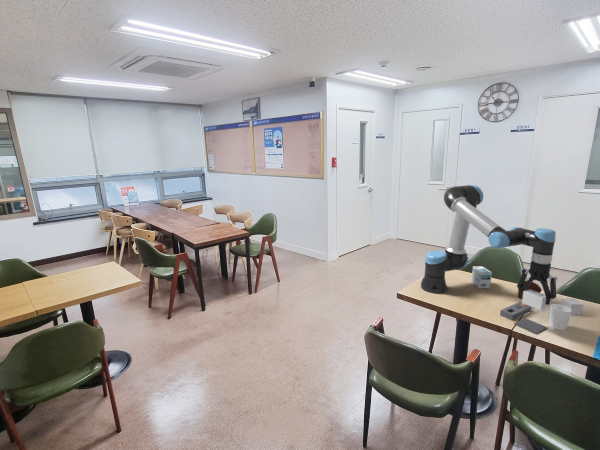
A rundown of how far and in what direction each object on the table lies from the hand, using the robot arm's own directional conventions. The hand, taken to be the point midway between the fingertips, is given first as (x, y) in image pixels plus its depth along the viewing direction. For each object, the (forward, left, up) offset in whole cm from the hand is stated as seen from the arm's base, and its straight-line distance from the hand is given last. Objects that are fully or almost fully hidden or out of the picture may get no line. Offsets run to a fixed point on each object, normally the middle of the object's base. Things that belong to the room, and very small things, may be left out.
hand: (533, 306), depth 153 cm
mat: (0, 0, -11) cm, 11 cm away
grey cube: (+3, +33, -11) cm, 35 cm away
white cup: (+6, +11, -11) cm, 17 cm away
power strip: (-11, +11, -11) cm, 19 cm away
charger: (0, 0, -1) cm, 1 cm away
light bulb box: (-42, +25, -11) cm, 50 cm away
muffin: (-17, +30, -11) cm, 36 cm away
